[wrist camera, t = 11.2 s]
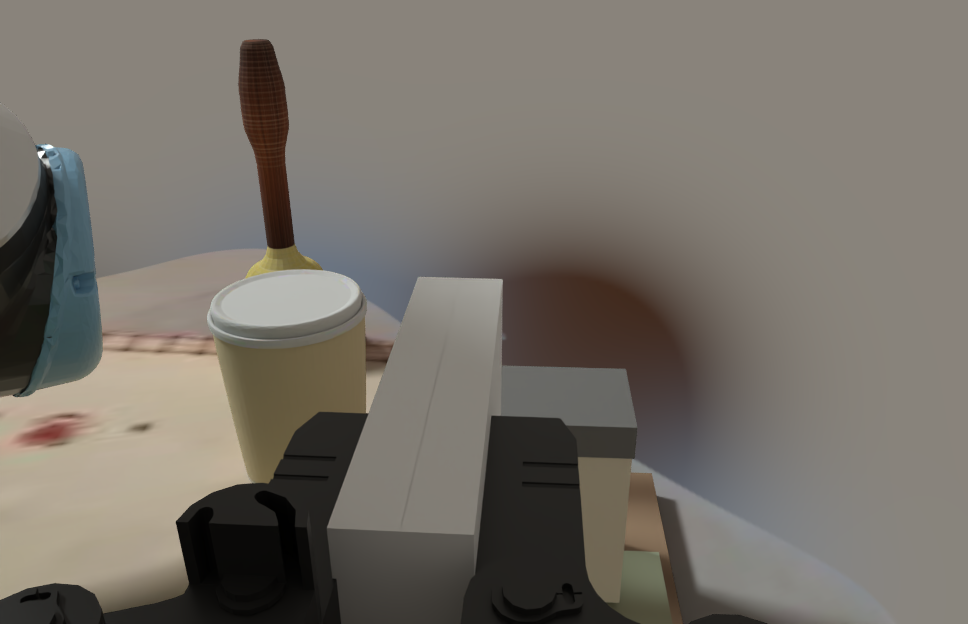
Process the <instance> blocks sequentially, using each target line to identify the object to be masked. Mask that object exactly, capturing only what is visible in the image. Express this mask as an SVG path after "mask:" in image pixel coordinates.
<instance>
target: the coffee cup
mask: <svg viewBox="0 0 968 624" xmlns="http://www.w3.org/2000/svg"><path fill="white" fill-rule="evenodd" d="M366 311H367V302H366V298H365V296H364V294H363V293H362V292H361V290H360V287H359V286H358V284H357V283H356V282H355V281H353V280H352V279H350V278H348V277H346V276H344V275H341V274H338V273H334V272H328V271H322V270H308V269H301V270H284V271H276V272H270V273H264V274H260V275H256V276H252V277H249V278H246V279H243V280H240V281H237V282H235V283H233V284H231V285H229V286H227V287H226V288H224V289H223V290H221V291H220V292H219V293H218V294H217V295H216V296H215V297H214V299H213V300H212V303H211V308H210V309H209V312H208V315H207V321H208V326H209V329H210V331H211V332H212V334H213V337H214V342H215V346H216V351H217V355H218V359H219V364H220V368H221V372H222V376H223V380H224V384H225V388H226V392H227V396H228V400H229V404H230V408H231V412H232V416H233V420H234V424H235V428H236V432H237V436H238V440H239V444H240V448H241V452H242V456H243V459H244V463H245V466H246V470H247V473H248V476H249V478H250V480H251V481H252V482H253V483H268V484H269V482H270V480H271V479H273V477H274V472H275V470H276V468H277V466H278V464H279V462H280V460H281V459H283V454H284V452H285V450H286V448H287V446H288V444H289V442H290V440H291V438H292V436H293V434H294V432H295V431H296V430H297V429H298V428H300V427H301V426H302V425H303V424H304V423H306V422H307V421H308V420H309V419H311V418H312V417H313V416H314V415H316V414H317V413H318V412H343V413H366V340H365V315H366Z"/></svg>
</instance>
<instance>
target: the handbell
mask: <svg viewBox="0 0 968 624" xmlns="http://www.w3.org/2000/svg"><path fill="white" fill-rule="evenodd" d="M238 85H239V95H240V103H241V112H242V119H243V125H244V128H245V132H246V134H247V136H248V139H249V141H250V143H251V145H252V148H253V150H254V154H255V158H256V163H257V169H258V176H259V184H260V192H261V199H262V207H263V215H264V222H265V230H266V238H267V245H268V246H267V252H266V255H265V257H264V258H263V260H261V261H259V262H257V263H256V264H255V265H254V266H252V268H251V269H250V270H249V272H248V274H247V276H246V278H249V277H252V276H256V275H260V274H264V273H270V272H276V271H284V270H301V269H308V270H322V268H321V266H320V265H319V264H318V263H317V262H315V261H314V260H312V259H310V258H308V257H306V256H302V255H301V254H300V253H299V252H298V250H297V248H296V246H295V243H294V234H293V226H292V217H291V209H290V200H289V191H288V182H287V174H286V166H285V146H286V141H287V135H288V130H289V120H288V109H287V102H286V94H285V86H284V82H283V78H282V74H281V71H280V69H279V65H278V62H277V58H276V55H275V51H274V48H273V46H272V44H271V42H270V41H269V40H264V39H253V40H245V41H243V42H242V45H241V47H240V68H239V83H238ZM322 271H323V270H322ZM246 278H245V279H246Z"/></svg>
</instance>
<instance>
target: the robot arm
mask: <svg viewBox="0 0 968 624" xmlns="http://www.w3.org/2000/svg"><path fill="white" fill-rule="evenodd" d="M502 283H503V282H502V279H476V278H439V277H418V280H417V282H416V285H415V288H414V291H413V293H412V296H411V299H410V302H409V305H408V307H407V310H406V312H405V315H404V318H403V321H402V323H401V326H400V329H399V332H398V334H397V337H396V340H395V343H394V345H393V348H392V351H391V353H390V356H389V359H388V362H387V364H386V367H385V370H384V373H383V375H382V378H381V381H380V384H379V386H378V389H377V392H376V395H375V397H374V400H373V403H372V405H371V408H370V411H369V413H343V412H318V413H317V414H316V415H314V416H313V417H312V418H311V419H309V420H308V421H307V422H306V423H304V424H303V425H302V426H301V427H300V428H298V429H297V430H296V431H295V432H294V434H293V436H292V438H291V440H290V442H289V444H288V446H287V448H286V450H285V452H284V454H283V459H281V460H280V462H279V464H278V466H277V468H276V470H275V472H274V477H273V479H271V480H270V482H269V484H268V483H251V484H239V485H235V486H232V487H228V488H225V489H222V490H219V491H216V492H213V493H211V494H209V495H207V496H206V497H204V498H202V499H201V500H199V501H197V502H196V503H194V504H192V505H191V506H190V507H189V508H188V509H187V510H186V511H185V512H184V513H183V514H182V516H181V517H180V518H179V519H178V520H177V521H176V525H177V530H178V534H179V539H180V543H181V548H182V553H183V557H184V562H185V566H186V571H187V576H188V580H189V586H188V588H187V590H186V591H185V593H184V594H183V595H181V596H178V597H176V598H172V599H169V600H165V601H162V602H158V603H154V604H149V605H144V606H139V607H134V608H129V609H124V610H120V611H115V612H110V613H105V614H103V612H102V609H101V607H100V605H99V602H98V600H97V598H96V596H95V594H93V593H91V592H90V591H88V590H86V589H84V588H82V587H81V586H79V585H69V584H57V583H54V584H49V585H43V586H38V587H33V588H28V589H25V590H23V591H21V592H18V593H16V594H13V595H11V596H9V597H6V598H4V599H2V600H0V624H640V623H638V622H635V621H633V620H631V619H628V618H626V617H624V616H623V615H621V614H620V613H618V612H617V611H615V610H614V609H612V608H611V607H609V605H608V604H607V603H606V602H605V601H604V600H603V599H602V598H601V597H600V596H599V595H598V594H597V593H596V591H595V589H594V588H593V586H592V584H591V582H590V581H589V578H588V573H587V569H586V562H585V549H584V535H583V521H582V508H581V494H580V480H579V469H578V453H577V440H576V438H575V437H574V435H573V434H572V433H571V431H570V430H569V429H568V427H567V426H566V425H565V423H564V422H563V421H562V419H561V418H546V417H518V416H501V369H502ZM102 349H103V342H102V326H101V315H100V305H99V296H98V288H97V282H96V269H95V261H94V247H93V238H92V229H91V220H90V213H89V204H88V197H87V190H86V182H85V175H84V169H83V164H82V161H81V159H80V157H79V155H78V154H77V153H75V152H74V151H72V150H70V149H67V148H55V147H53V146H51V145H48V144H45V145H43V144H39V145H35V144H34V142H33V140H32V137H31V136H30V134H29V132H28V130H27V129H26V127H25V125H24V124H23V123H22V122H21V121H20V119H19V118H18V117H17V116H16V115H15V114H14V113H13V112H12V111H11V110H9V109H8V108H7V107H6V106H4V105H3V104H2V103H0V397H4V396H9V395H13V396H15V397H25V396H29V395H31V394H33V393H34V392H35V391H36V390H39V389H43V388H48V387H52V386H56V385H60V384H65V383H69V382H73V381H77V380H80V379H82V378H84V377H86V376H87V375H89V374H90V373H91V372H92V371H93V370H94V369H95V368H96V367H97V365H98V364H99V362H100V360H101V357H102V351H103V350H102ZM689 624H767V623H764V622H761V621H758V620H754V619H751V618H748V617H745V616H741V615H723V614H712V615H709V616H706V617H703V618H700V619H697V620H694V621H691V622H690V623H689Z"/></svg>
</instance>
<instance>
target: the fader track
mask: <svg viewBox="0 0 968 624" xmlns="http://www.w3.org/2000/svg"><path fill="white" fill-rule="evenodd" d="M606 603H607V604H608V605H609V607H611V608H612V609H614V610H615V611H617V612H618V613H620V614H621V615H623V616H624V617H626V618H628V619H631V620H633V621H635V622H638V623H640V624H683V621H682V617H681V612H680V607H679V602H678V597H677V593H676V588H675V583H674V578H673V573H672V569H671V564H670V559H669V554H668V550H667V545H666V540H665V535H664V530H663V526H662V521H661V516H660V511H659V506H658V502H657V497H656V492H655V487H654V482H653V478H652V473H631V474H630V486H629V497H628V509H627V520H626V532H625V543H624V555H623V566H622V578H621V589H620V601H619V603H613V602H606Z"/></svg>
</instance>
